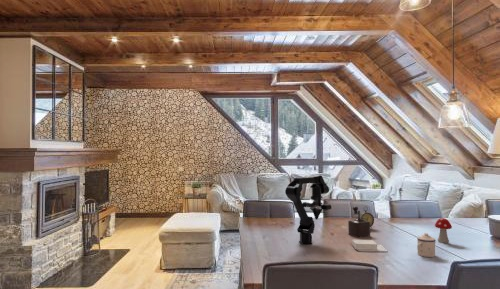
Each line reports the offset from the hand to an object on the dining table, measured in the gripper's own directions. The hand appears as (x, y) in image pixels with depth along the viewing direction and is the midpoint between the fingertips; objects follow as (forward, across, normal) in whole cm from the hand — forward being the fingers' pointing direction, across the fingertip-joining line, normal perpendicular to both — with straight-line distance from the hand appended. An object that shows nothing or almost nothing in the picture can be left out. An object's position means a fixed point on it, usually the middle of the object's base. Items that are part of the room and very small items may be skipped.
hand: (316, 219), depth 231 cm
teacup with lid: (+13, +61, +14) cm, 64 cm away
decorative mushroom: (+13, +58, +52) cm, 80 cm away
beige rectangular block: (+11, +26, 0) cm, 28 cm away
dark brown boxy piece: (+13, +10, +34) cm, 38 cm away
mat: (+13, +33, +6) cm, 36 cm away
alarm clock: (+13, +5, +55) cm, 57 cm away
